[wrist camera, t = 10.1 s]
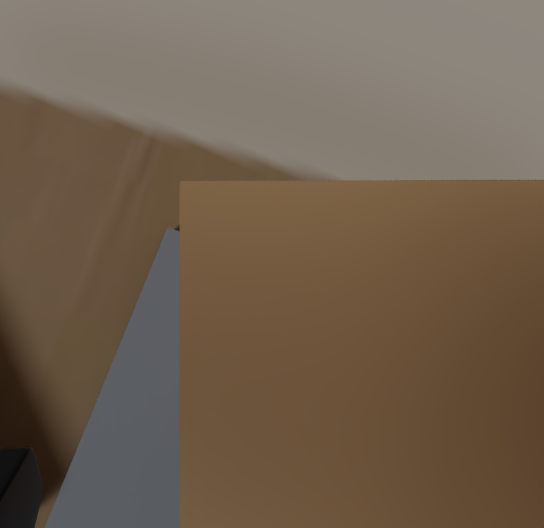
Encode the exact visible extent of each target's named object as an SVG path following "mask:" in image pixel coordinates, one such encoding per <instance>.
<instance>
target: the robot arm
mask: <svg viewBox="0 0 544 528" xmlns="http://www.w3.org/2000/svg"><path fill="white" fill-rule="evenodd" d="M42 490H43V485H42V479H41V475H40V471H39V467H38V463H37V459H36V455H35V452H34V450H33V449H32V448H31V447H10V448H5V449H3V450H1V451H0V528H34V527H35V523H36V519H37V515H38V511H39V507H40V502H41V498H42Z"/></svg>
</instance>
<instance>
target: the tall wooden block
mask: <svg viewBox="0 0 544 528" xmlns="http://www.w3.org/2000/svg"><path fill="white" fill-rule="evenodd" d="M179 528H544V180H431V181H430V180H429V181H428V180H426V181H425V180H414V181H413V180H412V181H410V180H409V181H408V180H407V181H406V180H404V181H403V180H402V181H401V180H400V181H180V299H179Z"/></svg>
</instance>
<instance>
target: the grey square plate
mask: <svg viewBox="0 0 544 528" xmlns="http://www.w3.org/2000/svg"><path fill="white" fill-rule="evenodd" d="M179 299H180V231H177V230H174V229H171V228H167V230H166V233H165V235H164V237H163V240H162V242H161V245H160V247H159V250H158V252H157V254H156V257H155V259H154V262H153V264H152V267H151V269H150V272H149V274H148V276H147V279H146V281H145V284H144V286H143V289H142V291H141V294H140V296H139V298H138V301H137V303H136V306H135V308H134V311H133V313H132V316H131V318H130V320H129V323H128V325H127V328H126V330H125V333H124V335H123V338H122V340H121V342H120V345H119V347H118V350H117V352H116V355H115V357H114V360H113V362H112V364H111V367H110V369H109V372H108V374H107V377H106V379H105V382H104V384H103V386H102V389H101V391H100V394H99V396H98V399H97V401H96V403H95V406H94V408H93V411H92V413H91V416H90V418H89V421H88V423H87V425H86V428H85V430H84V433H83V435H82V438H81V440H80V443H79V445H78V447H77V450H76V452H75V455H74V457H73V460H72V462H71V465H70V467H69V469H68V472H67V474H66V477H65V479H64V482H63V484H62V487H61V489H60V491H59V494H58V496H57V499H56V501H55V504H54V506H53V509H52V511H51V513H50V516H49V518H48V521H47V523H46V526H45V528H179Z"/></svg>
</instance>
